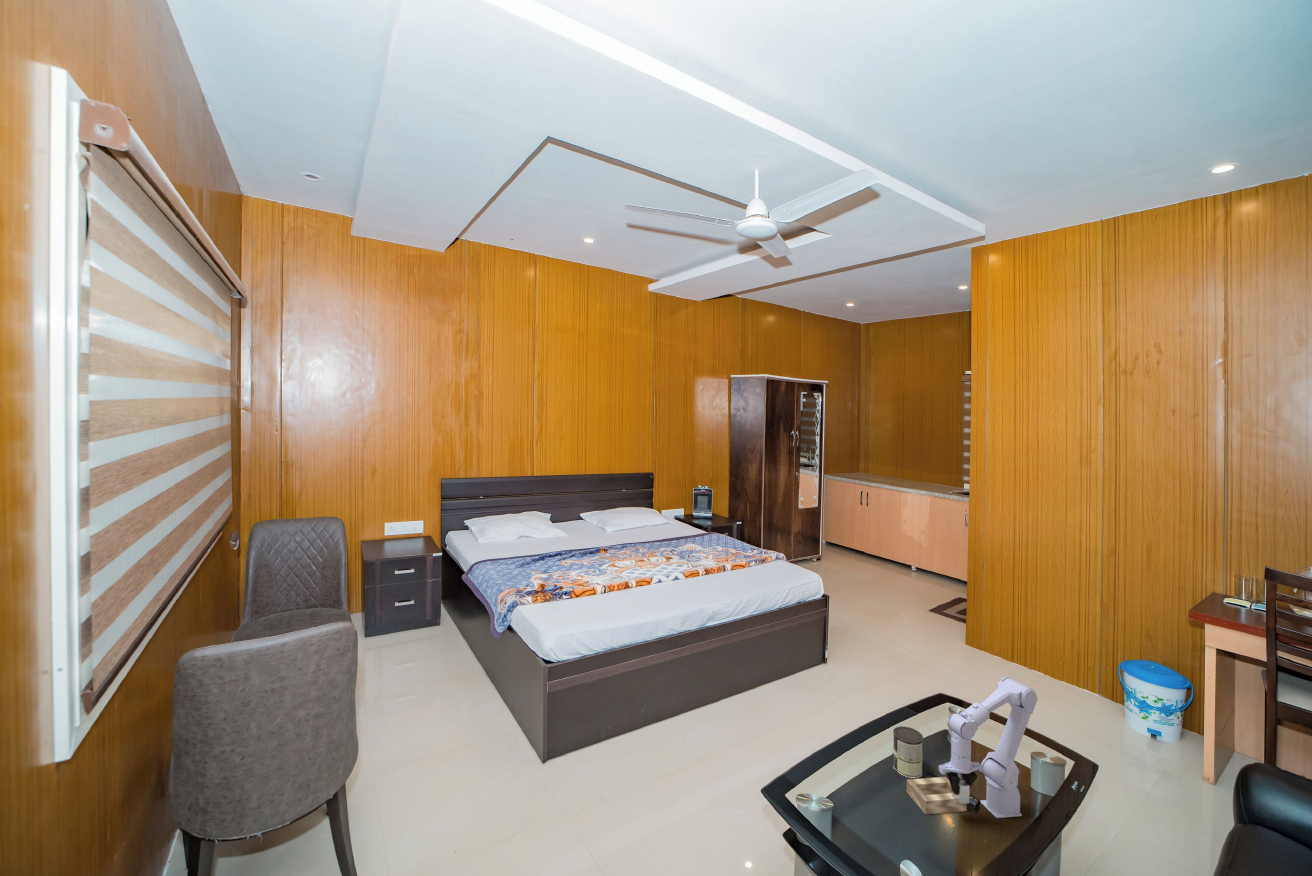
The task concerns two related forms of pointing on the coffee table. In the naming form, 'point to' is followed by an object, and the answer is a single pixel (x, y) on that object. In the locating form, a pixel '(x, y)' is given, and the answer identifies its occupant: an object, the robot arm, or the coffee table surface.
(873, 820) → the coffee table surface
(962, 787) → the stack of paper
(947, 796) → the tan wooden rectangular frame
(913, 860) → the coffee table surface
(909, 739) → the coffee can
